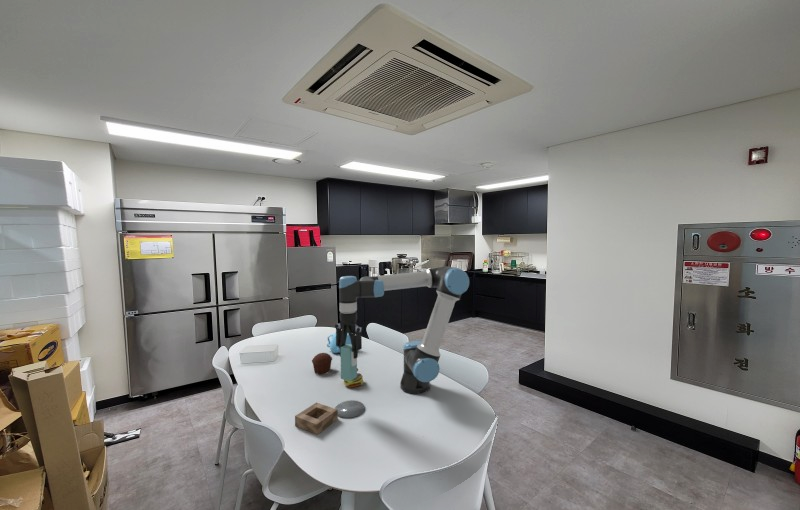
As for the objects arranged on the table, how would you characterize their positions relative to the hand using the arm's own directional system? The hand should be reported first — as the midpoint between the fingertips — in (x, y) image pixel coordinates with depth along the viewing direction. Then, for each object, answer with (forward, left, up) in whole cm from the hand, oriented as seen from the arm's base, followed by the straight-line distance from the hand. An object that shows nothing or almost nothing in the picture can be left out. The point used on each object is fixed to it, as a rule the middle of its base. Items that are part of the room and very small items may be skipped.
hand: (348, 363), depth 134 cm
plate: (0, 0, -21) cm, 21 cm away
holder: (+6, +14, -21) cm, 26 cm away
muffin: (+40, -25, -21) cm, 52 cm away
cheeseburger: (+14, -20, -21) cm, 32 cm away
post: (0, 0, -6) cm, 6 cm away
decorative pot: (+52, -56, -21) cm, 79 cm away
